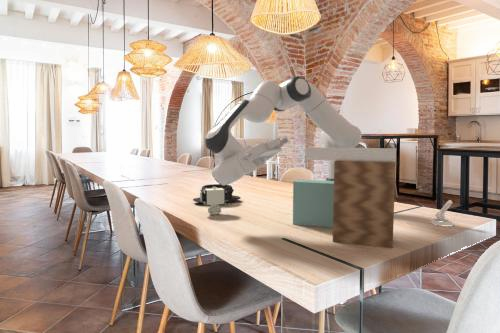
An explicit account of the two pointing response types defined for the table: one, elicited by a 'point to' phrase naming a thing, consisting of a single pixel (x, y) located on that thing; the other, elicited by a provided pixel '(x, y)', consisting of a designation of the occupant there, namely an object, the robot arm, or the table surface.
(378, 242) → the stand
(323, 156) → the rail
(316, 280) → the table surface
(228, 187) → the casserole
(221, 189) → the pneumatic valve
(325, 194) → the mint green rectangular block
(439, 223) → the hook
